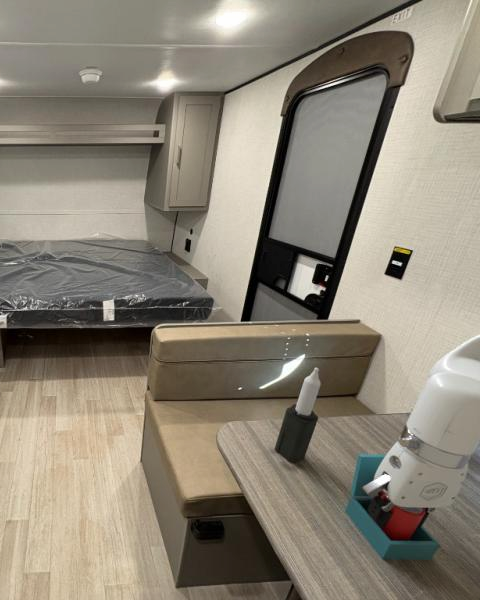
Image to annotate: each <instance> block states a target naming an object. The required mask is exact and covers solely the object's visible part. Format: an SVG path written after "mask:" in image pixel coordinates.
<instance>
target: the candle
mask: <svg viewBox="0 0 480 600" xmlns="http://www.w3.org/2000/svg"><path fill="white" fill-rule="evenodd" d="M319 371H320V369H319V368H318V367H314V369H313V371H312V372H311V373H310V375H308V376H306V377H305V378H304V379H303V380H304V381H303V383H302V386H301V389H300V392H299V395H298V399H297V402H296V404H295V403H294V404H292V405H291V406H289V407H288V408H286V410H285V413H284V416H283V419H282V422H281V425H280V430H279V433H278V436H277V439H276V443H275V447H274V451H275V452H276V453H278V454H279V455H280V456H281V457H282V458H284V459H285V460H286V461H287V462H288V463H290V464H293V465H295V464H297V463H299V462H301V461H303V460H305V457H306V454H307V452H308V449H309V446H310V443H311V441H312V437H313V434H314V432H315V429H316V426H317V423H318V420H319V416H318V415H317V414H316V413H315V412H314V410H313V408H314V407H315V402H316V400H317V397H318V393H319V392H320V391H319V390H320V387H321V380H320V378H319Z"/></svg>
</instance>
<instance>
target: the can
mask: <svg viewBox="0 0 480 600" xmlns="http://www.w3.org/2000/svg"><path fill="white" fill-rule="evenodd" d="M381 498H382V499H383V500H384V501H385V502H387V501H388V500H389V498H388V496H387V495H386V494H385V493H384V494H383V495H382V496H381ZM390 511H391V512H392V515H391V517H390V519H389V521H388V523H387V524H386V526H385V527H380V526H379V525H378V524H377V522H376V521H375V520H374V519H373V518H372V516H371V515H370V517H371V518H372V519H373V520H374V521H375V522H376V524H377V525H378V526H379V527H380V528H381V530H382V531H383V532H384V533H385V534H386V536H387V537H388V538H389V539H390V540H391V541H409V540H410V538H411V536H412V535H413V533H414V531H415V530H416V528H417V526H418V525H419V523H420V521H421V520H422V518H423V516H424V514H425V508H418V507H401V506H397V505H395V506H394V507H393V508H392V509H391V510H390Z"/></svg>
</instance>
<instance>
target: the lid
mask: <svg viewBox="0 0 480 600" xmlns="http://www.w3.org/2000/svg"><path fill="white" fill-rule="evenodd" d="M386 455H387V454H375V453H373V454H371V453H370V454H369V453H368V454H365V453H364V454H363V453H358V455H357V460H356V464H355V470H354V473H353V478H352V479H353V480H352V485H351V489H350V495H351V497H370V496H369V495H368V494H367V493H366V492H365V491H364V490H363V488H362V487H363V486H365V485H366V484H368V483H370V482H372V481H374V476H375V474H376V471H377V469H378V467H379V466H380V464H381V462H382V461H383V459H384V458H385V456H386Z"/></svg>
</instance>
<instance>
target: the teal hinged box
mask: <svg viewBox="0 0 480 600" xmlns="http://www.w3.org/2000/svg"><path fill="white" fill-rule="evenodd" d="M371 501H372V498H371V497H353V496H351V497H350V499H349V501H348V503H347V505H346V508H345V510H344V512H345V514H346V515H347V516H348V517H349V518H350V520H351V521H352V522H353V524H354V525H355V526H356V528H357V529H358V530H359V531H360V532H361V534H362V535H363V536H364V537H365V539H366V540H367V541H368V543H369V544H370V545H371V546H372V548H373V549H374V551H375V552H376V553H377V554H378V556H379V557H380V558H381V559H382V560H432V559H433V557H434V556H435V554H436V552H438V549H439V548H440V546H441V543H440V542H439V541H438V540H437V539H436V538H435V537H434V536H433V535H432V534H431V533H430V532H429V531H428V530H427V529H426V528H425V527H424V526H423V525H422V527H421V528H416V530H415V531H414V533H413V535H412V536H411V538H410V540H409V541H391V540H390V539H389V538H388V537H387V536H386V534H385V533H384V532H383V531H382V530H381V528H380V527H379V526H378V525H377V524H376V522H375V521H374V520H373V519H372V518H371V517H370V514H369V513H368V511H367V509H368V507H369V505H370V503H371Z"/></svg>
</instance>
